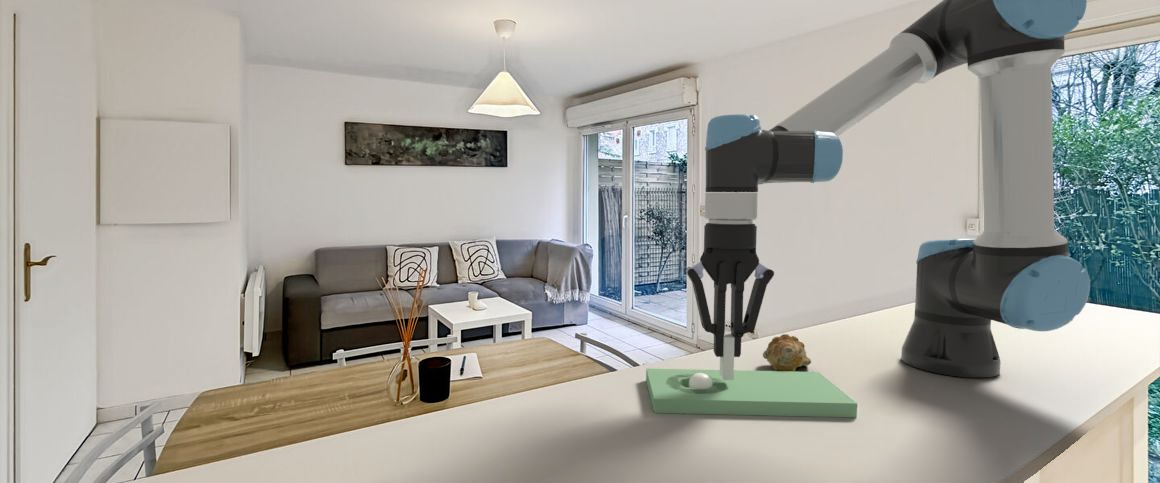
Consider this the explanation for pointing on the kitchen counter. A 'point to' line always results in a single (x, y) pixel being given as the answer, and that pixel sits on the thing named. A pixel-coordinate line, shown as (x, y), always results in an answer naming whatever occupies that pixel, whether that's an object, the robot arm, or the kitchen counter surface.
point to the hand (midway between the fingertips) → (726, 377)
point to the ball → (700, 381)
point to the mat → (749, 394)
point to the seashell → (786, 353)
